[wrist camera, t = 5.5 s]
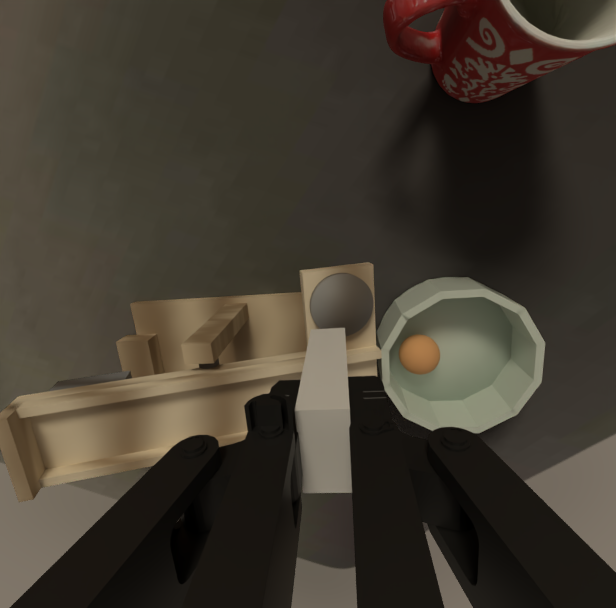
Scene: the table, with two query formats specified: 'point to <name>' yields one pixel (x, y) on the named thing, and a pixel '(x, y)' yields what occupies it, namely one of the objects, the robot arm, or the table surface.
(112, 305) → the table surface
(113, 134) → the table surface
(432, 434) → the robot arm
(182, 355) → the stand
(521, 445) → the table surface
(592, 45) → the mug
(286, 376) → the lever
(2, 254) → the table surface
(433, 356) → the ball
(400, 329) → the bowl
